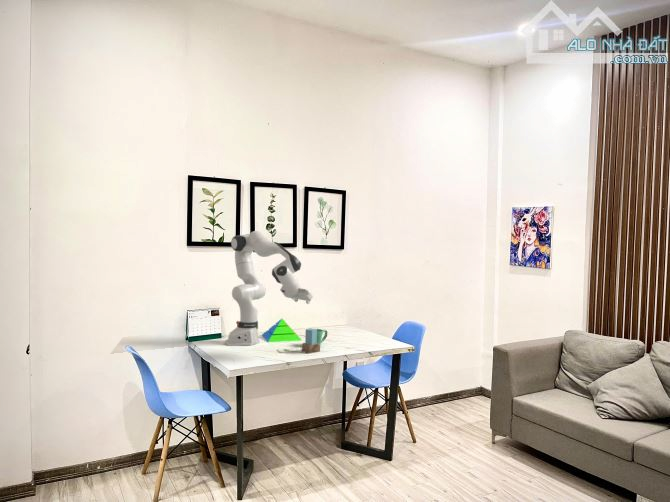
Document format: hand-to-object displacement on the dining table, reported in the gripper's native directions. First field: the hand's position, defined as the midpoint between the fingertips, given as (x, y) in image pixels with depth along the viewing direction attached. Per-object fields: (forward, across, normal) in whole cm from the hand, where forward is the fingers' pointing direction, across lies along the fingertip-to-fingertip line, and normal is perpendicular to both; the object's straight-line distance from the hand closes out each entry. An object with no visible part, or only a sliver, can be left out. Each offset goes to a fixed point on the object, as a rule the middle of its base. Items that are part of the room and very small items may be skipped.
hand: (302, 302), depth 295 cm
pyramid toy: (+37, +33, +9) cm, 51 cm away
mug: (+35, +1, +8) cm, 36 cm away
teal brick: (+20, -6, +16) cm, 27 cm away
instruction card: (+18, +7, +26) cm, 32 cm away
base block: (+24, -6, +20) cm, 32 cm away
